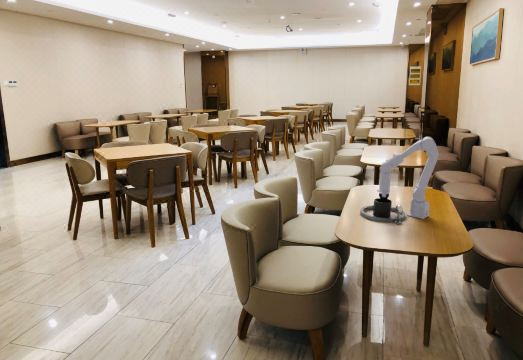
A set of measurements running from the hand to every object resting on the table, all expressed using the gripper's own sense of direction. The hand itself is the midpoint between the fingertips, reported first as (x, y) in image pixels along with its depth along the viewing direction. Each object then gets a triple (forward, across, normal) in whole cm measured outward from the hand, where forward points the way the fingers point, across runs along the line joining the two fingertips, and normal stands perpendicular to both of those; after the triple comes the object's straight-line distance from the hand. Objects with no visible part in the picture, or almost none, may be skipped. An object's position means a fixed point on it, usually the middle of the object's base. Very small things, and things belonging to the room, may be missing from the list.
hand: (383, 206), depth 235 cm
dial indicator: (+3, +19, +8) cm, 21 cm away
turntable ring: (+3, +6, 0) cm, 7 cm away
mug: (+4, +7, 0) cm, 8 cm away
